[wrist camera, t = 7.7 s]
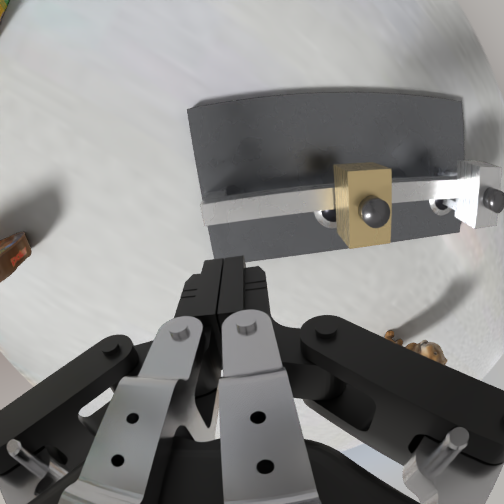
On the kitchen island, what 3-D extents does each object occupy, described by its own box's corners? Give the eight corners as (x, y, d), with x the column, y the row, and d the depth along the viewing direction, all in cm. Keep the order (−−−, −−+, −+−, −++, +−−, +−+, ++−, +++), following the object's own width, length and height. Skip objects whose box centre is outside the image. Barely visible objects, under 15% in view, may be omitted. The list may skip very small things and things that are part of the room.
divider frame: (203, 172, 23) (183, 195, 16) (460, 154, 22) (517, 171, 15) (214, 229, 25) (201, 275, 18) (459, 201, 24) (511, 229, 17)
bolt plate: (189, 109, 22) (186, 108, 21) (455, 101, 21) (462, 101, 20) (216, 261, 28) (215, 266, 26) (454, 229, 27) (460, 232, 25)
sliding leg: (320, 158, 22) (353, 174, 15) (354, 156, 22) (398, 171, 15) (324, 217, 24) (354, 255, 17) (357, 213, 24) (396, 249, 17)
